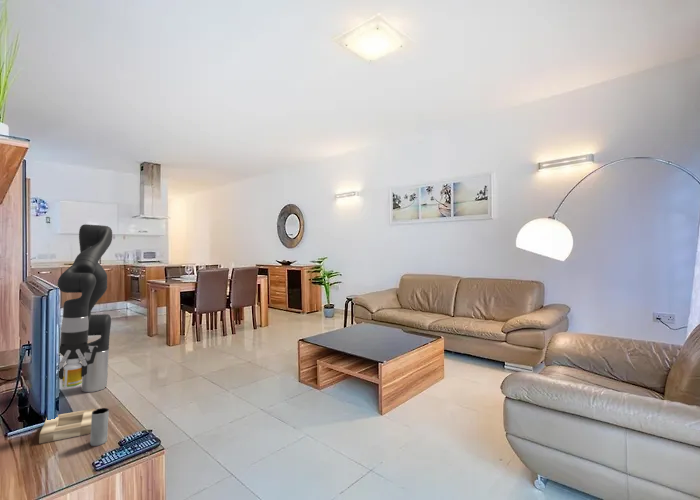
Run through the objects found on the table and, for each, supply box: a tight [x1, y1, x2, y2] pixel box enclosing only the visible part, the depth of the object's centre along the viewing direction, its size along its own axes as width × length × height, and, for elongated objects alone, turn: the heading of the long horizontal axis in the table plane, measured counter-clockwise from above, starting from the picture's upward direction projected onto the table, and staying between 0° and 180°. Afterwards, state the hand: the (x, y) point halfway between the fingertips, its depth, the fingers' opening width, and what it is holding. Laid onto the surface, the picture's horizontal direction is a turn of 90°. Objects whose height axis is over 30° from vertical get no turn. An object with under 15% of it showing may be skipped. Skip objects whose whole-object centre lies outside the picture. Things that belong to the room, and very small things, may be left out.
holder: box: [38, 408, 97, 444], centre depth 122 cm, size 14×14×3 cm
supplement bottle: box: [61, 358, 83, 389], centre depth 122 cm, size 5×5×10 cm
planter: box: [89, 407, 110, 447], centre depth 114 cm, size 4×4×10 cm
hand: (72, 377), depth 122 cm, fingers closed on supplement bottle, 5 cm apart
